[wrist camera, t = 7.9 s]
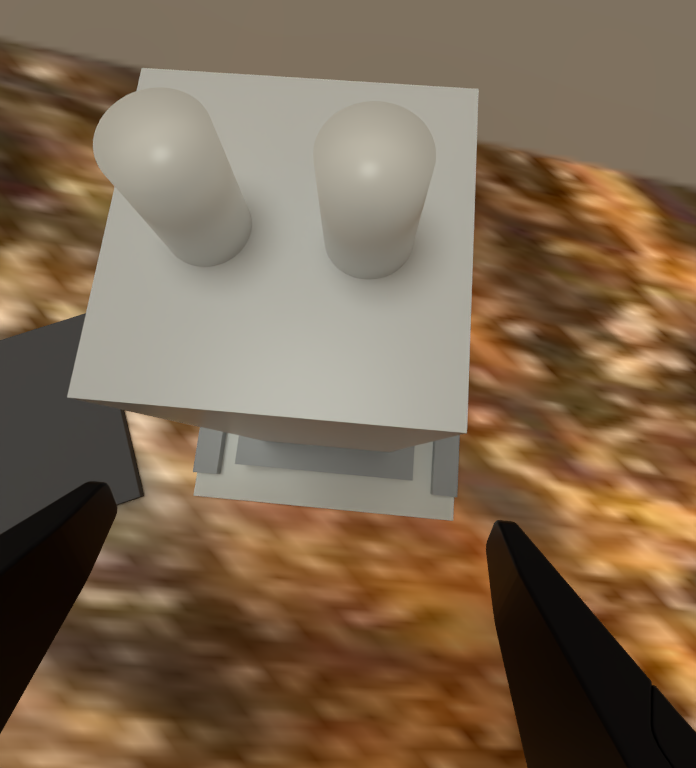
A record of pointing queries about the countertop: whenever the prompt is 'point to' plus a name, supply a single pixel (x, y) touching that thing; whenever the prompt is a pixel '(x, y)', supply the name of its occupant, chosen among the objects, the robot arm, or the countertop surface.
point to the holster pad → (55, 427)
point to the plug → (287, 265)
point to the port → (331, 481)
